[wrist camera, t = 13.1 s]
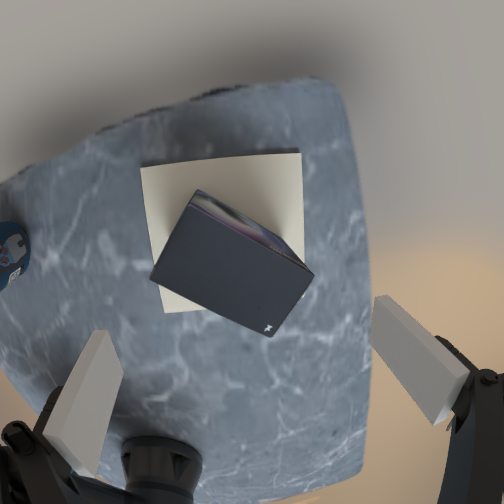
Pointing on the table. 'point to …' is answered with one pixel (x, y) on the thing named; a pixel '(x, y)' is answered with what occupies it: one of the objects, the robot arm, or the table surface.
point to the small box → (231, 266)
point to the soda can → (12, 253)
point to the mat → (226, 200)
